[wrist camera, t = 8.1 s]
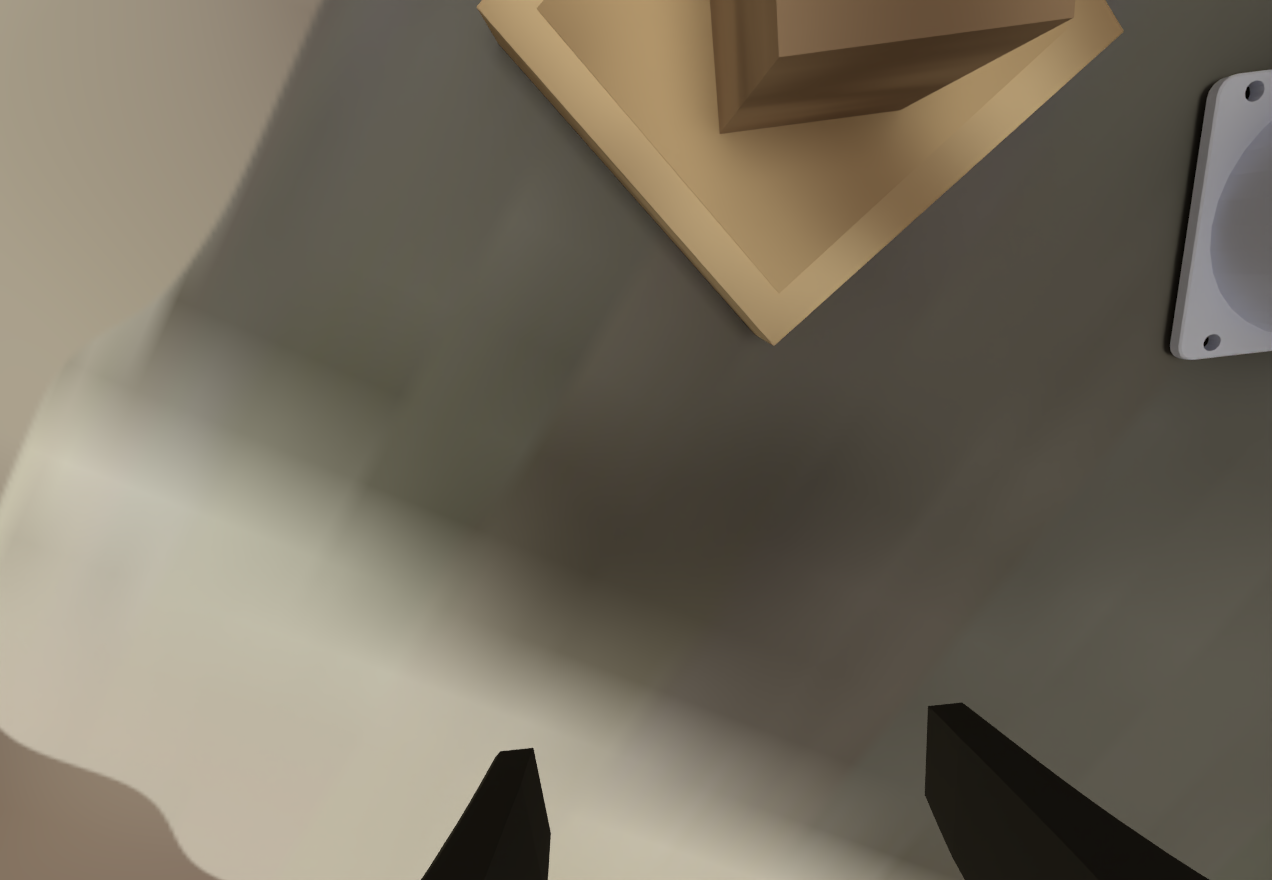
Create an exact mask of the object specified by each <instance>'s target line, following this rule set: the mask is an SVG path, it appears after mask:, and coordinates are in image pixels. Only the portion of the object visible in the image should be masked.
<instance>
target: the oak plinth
mask: <svg viewBox="0 0 1272 880" xmlns="http://www.w3.org/2000/svg"><path fill="white" fill-rule="evenodd" d="M477 8H478V10H479V12H480V13H481V15H482V17H483V19H484V20H485V22H486V24H487V25H488V27H489V29H490V30H491V32H492V34H493V35H494V37H495V39H496V40H497V42H498V44H499V45H500V46H501V47H502V48H503V49H504V50H505V52H506V53H507V54H508V55H509V56H510V57H511V58H512V59H513V61H514V62H515V63H516V64H517V65H518V66H519V67H520V69H521V70H522V71H523V72H524V73H525V74H526V75H527V77H528V78H529V79H530V80H531V81H532V82H533V83H534V84H535V86H536V87H537V88H538V89H539V90H540V91H541V92H542V94H543V95H544V96H545V97H546V98H547V99H548V100H549V101H550V103H551V104H552V105H553V106H554V107H555V108H556V109H557V111H558V112H559V113H560V114H561V115H562V116H563V117H564V118H565V120H566V121H567V122H568V123H569V124H570V125H571V126H572V128H573V129H574V130H575V131H576V132H577V133H578V134H579V135H580V137H581V138H582V139H583V140H584V141H585V142H586V143H587V145H588V146H589V147H590V148H591V149H592V150H593V151H594V153H595V154H596V155H597V156H598V157H599V158H600V159H601V160H602V162H603V163H604V164H605V165H606V166H607V167H608V168H609V170H610V171H611V172H612V173H613V174H614V175H615V176H616V177H617V179H618V180H619V181H620V182H621V183H622V184H623V185H624V187H625V188H626V189H627V190H628V191H629V192H630V193H631V194H632V196H633V197H634V198H635V199H636V200H637V201H638V202H639V204H640V205H641V206H642V207H643V208H644V209H645V210H646V212H647V213H648V214H649V215H650V216H651V217H652V218H653V219H654V221H655V222H656V223H657V224H658V225H659V226H660V227H661V229H662V230H663V231H664V232H665V233H666V234H667V235H668V236H669V238H670V239H671V240H672V241H673V242H674V243H675V244H676V246H677V247H678V248H679V249H680V250H681V251H682V252H683V253H684V255H685V256H686V257H687V258H688V259H689V260H690V261H691V263H692V264H693V265H694V266H695V267H696V268H697V269H698V271H699V272H700V273H701V274H702V275H703V276H704V277H705V278H706V280H707V281H708V282H709V283H710V284H711V285H712V286H713V288H714V289H715V290H716V291H717V292H718V293H719V294H720V295H721V297H722V298H723V299H724V300H725V301H726V302H727V303H728V305H729V306H730V307H731V308H732V309H733V310H734V311H735V312H736V314H737V315H738V316H739V317H740V318H741V319H742V320H743V322H744V323H745V324H746V325H747V326H748V327H749V328H750V330H751V331H752V332H753V333H754V334H755V335H756V336H758V337H760V338H761V339H763V340H765V341H766V342H768V343H770V344H772V345H773V346H774V345H776V344H777V343H778V342H779V341H780V340H781V339H782V338H783V337H784V336H786V335H787V334H788V333H789V332H790V331H791V330H792V329H793V328H794V327H796V326H797V325H798V324H799V323H800V322H801V321H802V320H803V319H804V318H806V317H807V316H808V315H809V314H810V313H811V312H812V311H813V310H814V309H816V308H817V307H818V306H819V305H820V304H821V303H822V302H823V301H824V300H826V299H827V298H828V297H829V296H830V295H831V294H832V293H833V292H834V291H836V290H837V289H838V288H839V287H840V286H841V285H842V284H843V283H845V282H846V281H847V280H848V279H849V278H850V277H851V276H852V275H853V274H855V273H856V272H857V271H858V270H859V269H860V268H861V267H862V266H863V265H865V264H866V263H867V262H868V261H869V260H870V259H871V258H872V257H873V256H875V255H876V254H877V253H878V252H879V251H880V250H881V249H882V248H883V247H885V246H886V245H887V244H888V243H889V242H890V241H891V240H892V239H893V238H895V237H896V236H897V235H898V234H899V233H900V232H901V231H902V230H903V229H905V228H906V227H907V226H908V225H909V224H910V223H911V222H912V221H913V220H915V219H916V218H917V217H918V216H919V215H920V214H921V213H922V212H923V211H925V210H926V209H927V208H928V207H929V206H930V205H931V204H932V203H933V202H935V201H936V200H937V199H938V198H939V197H940V196H941V195H942V194H944V193H945V192H946V191H947V190H948V189H949V188H950V187H951V186H952V185H954V184H955V183H956V182H957V181H958V180H959V179H960V178H961V177H962V176H964V175H965V174H966V173H967V172H968V171H969V170H970V169H971V168H972V167H974V166H975V165H976V164H977V163H978V162H979V161H980V160H981V159H982V158H984V157H985V156H986V155H987V154H988V153H989V152H990V151H991V150H992V149H994V148H995V147H996V146H997V145H998V144H999V143H1000V142H1001V141H1002V140H1004V139H1005V138H1006V137H1007V136H1008V135H1009V134H1010V133H1011V132H1012V131H1014V130H1015V129H1016V128H1017V127H1018V126H1019V125H1020V124H1021V123H1022V122H1024V121H1025V120H1026V119H1027V118H1028V117H1029V116H1030V115H1031V114H1033V113H1034V112H1035V111H1036V110H1037V109H1038V108H1039V107H1040V106H1041V105H1043V104H1044V103H1045V102H1046V101H1047V100H1048V99H1049V98H1050V97H1051V96H1053V95H1054V94H1055V93H1056V92H1057V91H1058V90H1059V89H1060V88H1061V87H1063V86H1064V85H1065V84H1066V83H1067V82H1068V81H1069V80H1070V79H1071V78H1073V77H1074V76H1075V75H1076V74H1077V73H1078V72H1079V71H1080V70H1081V69H1083V68H1084V67H1085V66H1086V65H1087V64H1088V63H1089V62H1090V61H1091V60H1093V59H1094V58H1095V57H1096V56H1097V55H1098V54H1099V53H1100V52H1101V51H1103V50H1104V49H1105V48H1106V47H1107V46H1108V45H1109V44H1110V43H1111V42H1113V41H1114V40H1115V39H1116V38H1117V37H1118V36H1119V35H1120V34H1122V33H1123V32H1124V31H1123V29H1122V28H1121V26H1120V24H1119V22H1118V21H1117V19H1116V17H1115V16H1114V14H1113V12H1112V11H1111V9H1110V7H1109V6H1108V4H1107V2H1106V1H1105V0H1075V11H1074V18H1072V19H1070V20H1069V21H1067V22H1065V23H1063V24H1061V25H1059V26H1057V27H1055V28H1054V29H1052V30H1050V31H1048V32H1046V33H1044V34H1042V35H1040V36H1039V37H1037V38H1035V39H1033V40H1031V41H1029V42H1027V43H1025V44H1024V45H1022V46H1020V47H1018V48H1016V49H1014V50H1012V51H1010V52H1009V53H1007V54H1005V55H1003V56H1001V57H999V58H997V59H995V60H994V61H992V62H990V63H988V64H986V65H984V66H982V67H980V68H979V69H977V70H975V71H973V72H971V73H969V74H967V75H965V76H964V77H962V78H960V79H958V80H956V81H954V82H952V83H950V84H949V85H947V86H945V87H943V88H941V89H939V90H937V91H935V92H934V93H932V94H930V95H928V96H926V97H924V98H922V99H920V100H919V101H917V102H915V103H913V104H911V105H909V106H907V107H905V108H904V109H902V110H899V111H891V112H884V113H876V114H868V115H861V116H853V117H846V118H838V119H831V120H823V121H815V122H808V123H800V124H793V125H785V126H778V127H770V128H762V129H755V130H747V131H740V132H732V133H725V134H720V132H719V118H718V105H717V91H716V78H715V64H714V51H713V37H712V24H711V10H710V0H482V1H481V2H480V3H479V5H478V6H477Z"/></svg>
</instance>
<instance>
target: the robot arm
mask: <svg viewBox="0 0 1272 880" xmlns="http://www.w3.org/2000/svg"><path fill="white" fill-rule="evenodd" d="M1247 86H1248V87H1249V88H1250V96H1249V98H1248V100H1247V99H1246V98H1245V91H1246V89H1247ZM1208 336H1209V341H1208V343H1207V345H1206V346H1205V347H1204V344H1203V343H1204V341H1205V339H1206V338H1207V337H1208ZM1170 351H1171V352H1172V354H1173V355H1174V356H1175V357H1177V358H1181V359H1187V360H1196V359H1205V358H1213V357H1222V356H1231V355H1240V354H1248V353H1257V352H1266V351H1272V69H1271V70H1263V71H1255V72H1247V73H1239V74H1235V75H1232V76H1228V77H1225V78H1222V79H1220V80H1219V81H1217V82H1216V83H1215V84H1214V85H1213V86H1212V88H1211V89H1210V91H1209V93H1208V96H1207V101H1206V107H1205V114H1204V121H1203V127H1202V134H1201V141H1200V147H1199V154H1198V161H1197V168H1196V174H1195V181H1194V188H1193V194H1192V201H1191V208H1190V214H1189V221H1188V228H1187V235H1186V241H1185V248H1184V255H1183V261H1182V268H1181V275H1180V281H1179V288H1178V295H1177V302H1176V308H1175V315H1174V322H1173V328H1172V335H1171V342H1170ZM925 796H926V798H927V801H928V803H929V805H930V808H931V810H932V812H933V815H934V817H935V819H936V822H937V824H938V826H939V829H940V831H941V833H942V835H943V837H944V840H945V842H946V844H947V846H948V848H949V851H950V853H951V855H952V857H953V859H954V861H955V863H956V864H957V866H958V868H959V870H960V872H961V874H962V875H963V877H964V879H965V880H1209V879H1207V878H1206V877H1204V876H1202V875H1201V874H1199V873H1197V872H1196V871H1194V870H1193V869H1191V868H1190V867H1188V866H1187V865H1185V864H1183V863H1182V862H1180V861H1179V860H1177V859H1176V858H1174V857H1173V856H1171V855H1169V854H1168V853H1166V852H1165V851H1163V850H1162V849H1161V848H1159V847H1158V846H1156V845H1155V844H1153V843H1152V842H1150V841H1149V840H1147V839H1146V838H1144V837H1143V836H1141V835H1140V834H1138V833H1137V832H1135V831H1134V830H1133V829H1131V828H1130V827H1128V826H1127V825H1125V824H1124V823H1122V822H1121V821H1119V820H1118V819H1116V818H1115V817H1114V816H1112V815H1111V814H1109V813H1108V812H1107V811H1105V810H1104V809H1102V808H1101V807H1099V806H1098V805H1097V804H1095V803H1094V802H1092V801H1091V800H1090V799H1088V798H1087V797H1086V796H1084V795H1083V794H1081V793H1080V792H1079V791H1077V790H1076V789H1075V788H1073V787H1072V786H1071V785H1069V784H1068V783H1066V782H1065V781H1064V780H1062V779H1061V778H1060V777H1058V776H1057V775H1056V774H1054V773H1053V772H1052V771H1050V770H1049V769H1048V768H1046V767H1045V766H1044V765H1042V764H1041V763H1040V762H1039V761H1037V760H1036V759H1035V758H1033V757H1032V756H1031V755H1029V754H1028V753H1027V752H1025V751H1024V750H1023V749H1022V748H1020V747H1019V746H1018V745H1016V744H1015V743H1014V742H1012V741H1011V740H1010V739H1009V738H1007V737H1006V736H1005V735H1003V734H1002V733H1001V732H1000V731H998V730H997V729H996V728H994V727H993V726H992V725H991V724H989V723H988V722H987V721H985V720H984V719H983V718H982V717H980V716H979V715H978V714H976V713H975V712H974V711H972V710H971V709H970V708H969V707H967V706H966V705H965V704H963V703H954V704H944V705H935V706H928V723H927V750H926V777H925ZM550 836H551V832H550V827H549V823H548V818H547V813H546V808H545V803H544V798H543V793H542V788H541V783H540V778H539V774H538V769H537V764H536V759H535V754H534V749H533V748H528V749H519V750H509V751H500V753H499V754H498V755H497V756H496V757H495V759H494V761H493V762H492V764H491V766H490V768H489V770H488V771H487V773H486V775H485V777H484V778H483V780H482V782H481V784H480V785H479V787H478V789H477V791H476V792H475V794H474V796H473V798H472V799H471V801H470V803H469V804H468V806H467V808H466V809H465V811H464V813H463V814H462V816H461V818H460V819H459V821H458V823H457V824H456V826H455V828H454V829H453V831H452V832H451V834H450V836H449V837H448V839H447V840H446V842H445V843H444V845H443V847H442V848H441V850H440V851H439V853H438V855H437V856H436V858H435V859H434V861H433V862H432V864H431V866H430V867H429V869H428V870H427V872H426V873H425V875H424V876H423V878H422V879H421V880H548V869H549V852H550Z"/></svg>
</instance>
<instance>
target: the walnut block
mask: <svg viewBox="0 0 1272 880" xmlns="http://www.w3.org/2000/svg"><path fill="white" fill-rule="evenodd" d="M710 10H711V24H712V37H713V51H714V64H715V78H716V91H717V105H718V118H719V132H720V134H725V133H732V132H740V131H747V130H755V129H762V128H770V127H778V126H785V125H793V124H800V123H808V122H815V121H823V120H831V119H838V118H846V117H853V116H861V115H868V114H876V113H884V112H891V111H899V110H902V109H904V108H905V107H907V106H909V105H911V104H913V103H915V102H917V101H919V100H920V99H922V98H924V97H926V96H928V95H930V94H932V93H934V92H935V91H937V90H939V89H941V88H943V87H945V86H947V85H949V84H950V83H952V82H954V81H956V80H958V79H960V78H962V77H964V76H965V75H967V74H969V73H971V72H973V71H975V70H977V69H979V68H980V67H982V66H984V65H986V64H988V63H990V62H992V61H994V60H995V59H997V58H999V57H1001V56H1003V55H1005V54H1007V53H1009V52H1010V51H1012V50H1014V49H1016V48H1018V47H1020V46H1022V45H1024V44H1025V43H1027V42H1029V41H1031V40H1033V39H1035V38H1037V37H1039V36H1040V35H1042V34H1044V33H1046V32H1048V31H1050V30H1052V29H1054V28H1055V27H1057V26H1059V25H1061V24H1063V23H1065V22H1067V21H1069V20H1070V19H1072V18H1074V11H1075V0H710Z"/></svg>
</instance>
